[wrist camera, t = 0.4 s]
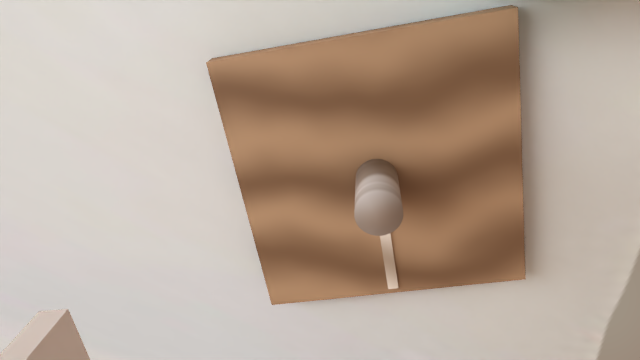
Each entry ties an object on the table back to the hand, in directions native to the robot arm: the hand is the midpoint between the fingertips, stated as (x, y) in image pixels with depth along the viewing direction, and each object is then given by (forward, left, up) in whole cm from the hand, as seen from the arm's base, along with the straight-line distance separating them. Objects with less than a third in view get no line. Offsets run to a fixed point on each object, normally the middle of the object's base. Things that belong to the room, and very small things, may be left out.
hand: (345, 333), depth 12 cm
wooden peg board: (+7, 0, -25) cm, 26 cm away
